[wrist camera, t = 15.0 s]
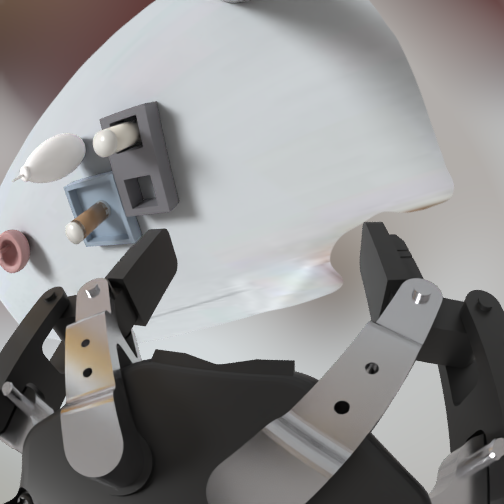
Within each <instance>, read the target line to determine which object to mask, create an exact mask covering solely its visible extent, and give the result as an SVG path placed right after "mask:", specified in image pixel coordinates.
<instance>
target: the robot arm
mask: <svg viewBox="0 0 504 504" xmlns="http://www.w3.org/2000/svg"><path fill="white" fill-rule="evenodd" d="M222 1H225V2H230V3H240V2H246V1H250V0H222ZM362 229H363V230H362V240H361V251H360V272H361V276H362V280H363V284H364V288H365V293H366V297H367V301H368V306H369V311H370V315H371V321H370V322H368V323H367V324H366V326H365V327H364V328H363V329H362V331H361V332H360V333H359V334H358V336H357V337H356V338H355V339H354V341H353V342H352V343H351V344H350V346H349V347H348V348H347V349H346V351H345V352H344V353H343V354H342V355H341V356H340V358H339V359H338V360H337V361H336V362H335V363H334V364H333V366H332V367H331V368H330V369H329V370H328V371H327V372H326V373H325V375H324V376H323V377H322V378H321V379H320V380H317V379H315V378H313V377H311V376H308V375H305V374H303V373H299V372H295V363H294V362H295V361H289V360H284V361H283V360H259V359H256V360H250V361H243V362H236V363H228V364H213V363H211V362H208V361H205V360H202V359H199V358H197V357H194V356H191V355H189V354H186V353H179V352H172V351H164V350H158V349H156V350H155V352H154V354H153V357H152V359H148V360H143V361H142V359H141V355H140V352H139V348H138V344H137V340H136V336H135V333H134V331H133V329H132V327H133V325H140V326H146V325H147V323H148V321H149V319H150V317H151V316H152V314H153V312H154V310H155V309H156V307H157V305H158V303H159V301H160V300H161V298H162V296H163V294H164V293H165V291H166V289H167V287H168V286H169V284H170V282H171V281H172V279H173V277H174V275H175V274H176V271H177V258H176V255H175V252H174V248H173V245H172V242H171V238H170V235H169V232H168V231H167V229H151V230H148V231H147V232H146V234H145V235H144V236H143V237H142V238H141V239H140V240H139V241H138V243H136V244H135V245H133V246H132V247H131V248H130V249H129V250H128V251H127V252H126V253H125V256H123V257H122V258H121V259H120V262H118V263H117V264H116V265H115V266H114V267H113V269H112V270H111V271H110V272H109V273H108V275H107V276H106V277H105V278H97V279H93V280H91V281H89V282H87V283H86V284H84V285H83V286H82V287H81V288H80V289H79V291H78V293H77V295H74V296H69V297H67V295H66V293H65V291H64V290H63V288H62V287H54V288H52V289H50V290H48V291H46V292H45V293H44V294H43V295H42V296H41V297H40V298H39V300H38V301H37V302H36V304H35V305H34V306H33V307H32V309H31V310H30V311H29V313H28V314H27V315H26V317H25V318H24V319H23V321H22V322H21V323H20V325H19V326H18V328H17V329H16V330H15V332H14V333H13V335H12V336H11V337H10V339H9V340H8V342H7V343H6V345H5V346H4V348H3V349H2V351H1V353H0V440H1V441H2V442H4V443H5V444H6V445H8V446H9V447H11V448H12V449H15V450H17V451H18V452H20V453H22V474H21V483H20V488H19V491H18V493H17V495H16V496H15V497H14V498H13V499H12V500H10V501H9V502H6V503H4V504H504V311H503V309H502V307H501V305H500V304H499V302H498V301H497V299H496V298H495V297H494V296H492V295H491V294H489V293H487V292H485V291H482V290H474V291H471V292H469V294H467V296H466V299H465V301H464V302H461V301H456V300H451V299H446V298H443V296H442V293H441V290H440V289H439V288H438V287H437V286H436V285H435V284H434V283H432V282H430V281H428V280H425V279H423V277H422V275H421V273H420V271H419V269H418V267H417V265H416V263H415V261H414V259H413V258H412V255H411V253H410V252H409V250H408V248H407V246H406V244H405V242H404V241H403V240H402V239H400V238H399V237H398V236H397V235H389V233H388V231H387V229H386V227H385V226H384V224H383V222H364V223H363V228H362ZM52 328H53V329H54V330H55V332H56V333H57V335H58V336H59V337H60V339H61V340H62V341H61V343H60V344H59V346H58V348H57V349H56V351H55V353H54V354H53V356H52V358H51V359H50V361H49V360H48V359H47V358H46V357H45V355H44V354H43V351H42V345H43V342H44V340H45V339H46V337H47V336H48V334H49V333H50V331H51V330H52ZM416 360H417V361H422V362H427V363H433V364H438V368H439V373H440V378H441V383H442V388H443V394H444V400H445V406H446V411H447V412H446V413H447V420H448V428H449V439H450V451H451V454H449V455H448V456H447V457H446V458H445V459H444V461H443V462H442V463H441V465H440V467H439V470H438V476H437V481H436V484H435V486H434V488H433V490H432V491H431V493H430V494H429V495H428V493H427V491H426V490H425V489H424V487H423V486H422V485H421V484H420V483H419V482H418V481H417V480H416V479H415V478H414V477H413V476H412V475H411V474H410V473H409V472H408V471H407V470H406V469H405V468H404V467H403V466H402V465H401V464H400V463H399V462H398V461H397V460H396V459H395V458H394V457H393V455H392V454H391V453H390V452H388V450H387V449H386V448H385V447H384V446H383V445H382V444H381V443H380V442H379V441H378V440H377V439H376V438H375V436H374V435H373V434H372V433H371V431H372V430H373V429H374V427H375V426H376V425H377V423H378V422H379V420H380V419H381V417H382V416H383V414H384V413H385V411H386V410H387V408H388V407H389V405H390V404H391V402H392V400H393V399H394V397H395V396H396V394H397V392H398V391H399V389H400V387H401V386H402V384H403V382H404V381H405V379H406V377H407V375H408V373H409V372H410V370H411V368H412V366H413V365H414V363H415V361H416ZM65 396H66V404H65V405H64V406H63V407H62V408H61V409H60V407H61V405H62V402H63V400H64V398H65Z"/></svg>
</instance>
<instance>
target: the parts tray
mask: <svg viewBox="0 0 504 504" xmlns="http://www.w3.org/2000/svg"><path fill="white" fill-rule="evenodd" d="M64 190H65V193H66V196H67V199H68V202H69V204H70V207H71V210H72V213H73V215H74V218H76V217H78V216H79V215H80V214H82V213H83V212H84V211H86V210H87V209H88V208H89V207H91V206H92V205H94V204H95V203H96V202H98V201H99V200H103V201H105V202H107V203H108V204H109V206H110V208H111V215H110V216H109V217H108V218H107V219H106V220H105V221H104V222H103V223H101V224H100V225H99V226H98V227H97V228H96V229H95V230H93V231H92V232H91V233H90V234H89V235H88V236H87V237H86V238H85V239H84V243H85V245H86V247H88V246H103V245H118V244H134V243H136V242H137V241H138V240H139V239H140V238H141V236H142V233H141V230H140V227H139V224H138V221H137V218H136V216H130V217H127V216H126V213H125V210H124V207H123V204H122V201H121V198H120V195H119V192H118V188H117V185H116V182H115V178H114V175H113V171H110V172H106V173H102V174H98V175H95V176H91V177H87V178H84V179H80V180H77V181H74V182H72V183H70V184H68V185H67V186H65V187H64Z"/></svg>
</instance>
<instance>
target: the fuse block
mask: <svg viewBox="0 0 504 504" xmlns="http://www.w3.org/2000/svg"><path fill="white" fill-rule="evenodd" d="M135 115H136V117H137V122H138V126H139V131H140V135H141V140H142V144H143V145H140V146H136V147H132V148H129V147H127V148H125V149H123V150H121V151H118V152H116V153H114V154H112V155H110V156H108V157H109V160H110V164H111V168H112V171H113V175H114V178H115V182H116V185H117V188H118V192H119V195H120V198H121V201H122V204H123V207H124V210H125V213H126V216H127V217H130V216H138V215H147V214H156V213H165V212H170V211H171V210H172V209H173V208H174V207H175V206H176V205H177V204H178V203H179V200H178V196H177V192H176V188H175V184H174V179H173V175H172V171H171V167H170V163H169V158H168V154H167V149H166V145H165V140H164V136H163V131H162V126H161V121H160V117H159V112H158V106H157V101H156V102H151V103H145V104H141V105H138V106H135V107H132V108H129V109H126V110H123V111H121V112H118V113H115V114H112V115H110V116H107V117H104V118H102V119H100V124H101V128H102V130H104V129H107V128H110V127H113V126H116V125H119V124H122V123H123V119H126V118H129V117H132V116H135ZM147 175H150V176H151V180H152V184H153V188H154V191H155V195H156V198H153V199H147V200H143V198H142V194H141V191H140V187H139V184H138V180H137V177H141V176H147Z"/></svg>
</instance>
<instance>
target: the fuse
mask: <svg viewBox="0 0 504 504" xmlns="http://www.w3.org/2000/svg"><path fill="white" fill-rule="evenodd" d="M141 141H142V140H141V135H140V131H139V126H138V122H137V119H136V120H132V121H129V122H125V123H122V124H119V125H116V126H113V127H110V128H107V129H104V130H101V131H99V132H97V133H96V134H95V136H94V138H93V148H94V150H95V152H96V153H97V155H99V156H100V157H108V156H110V155H112V154H114V153H116V152H118V151H121V150H123V149H125V148H127V147H129V146H131V145H134V144H136V143H138V142H141Z"/></svg>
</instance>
